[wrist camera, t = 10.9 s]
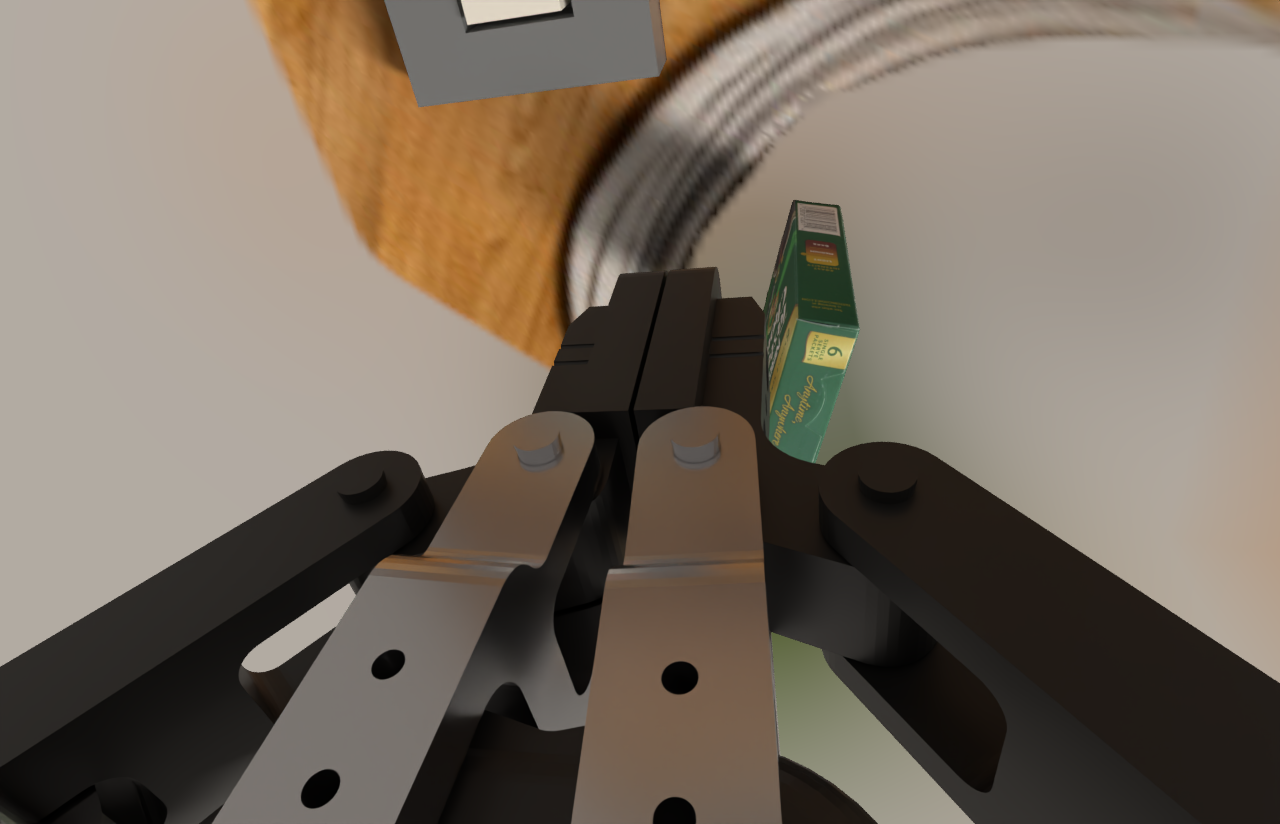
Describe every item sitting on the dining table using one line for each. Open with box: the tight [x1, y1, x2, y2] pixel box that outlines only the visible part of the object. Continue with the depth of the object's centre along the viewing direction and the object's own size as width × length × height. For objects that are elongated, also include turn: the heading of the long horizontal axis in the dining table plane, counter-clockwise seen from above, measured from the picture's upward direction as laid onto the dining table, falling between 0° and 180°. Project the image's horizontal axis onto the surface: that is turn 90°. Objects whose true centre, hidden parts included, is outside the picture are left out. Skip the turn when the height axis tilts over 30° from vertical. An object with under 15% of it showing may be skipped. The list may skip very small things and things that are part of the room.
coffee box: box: [763, 200, 860, 463], centre depth 37 cm, size 8×3×13 cm, turn 173°
